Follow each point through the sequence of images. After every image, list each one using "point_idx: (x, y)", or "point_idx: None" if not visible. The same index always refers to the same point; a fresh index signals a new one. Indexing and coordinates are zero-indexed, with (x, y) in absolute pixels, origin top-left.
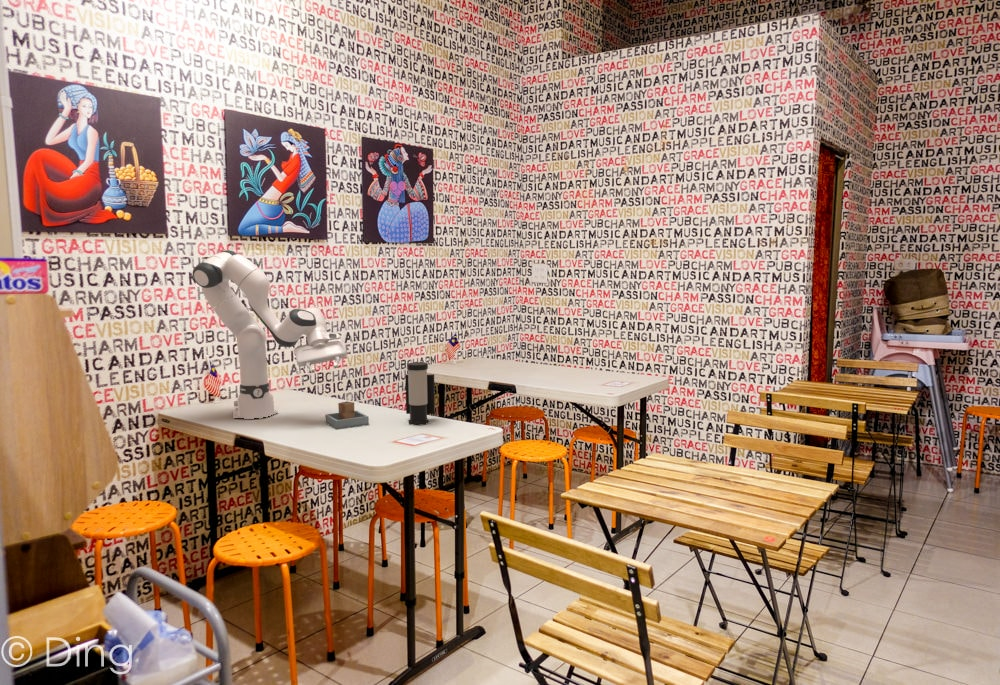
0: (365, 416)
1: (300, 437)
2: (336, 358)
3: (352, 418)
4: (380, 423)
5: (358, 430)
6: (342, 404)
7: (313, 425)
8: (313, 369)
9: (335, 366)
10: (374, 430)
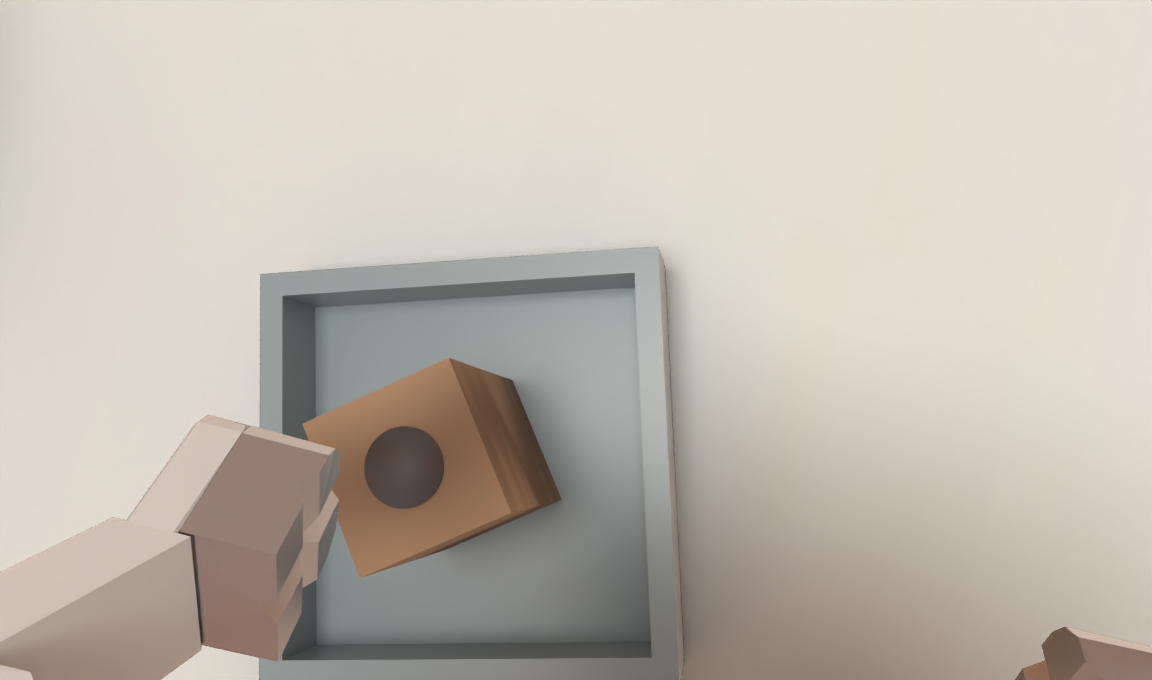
0: (288, 292)
1: (1118, 106)
2: (8, 669)
3: (450, 268)
4: (180, 294)
5: (475, 111)
6: (477, 425)
7: (849, 604)
8: (1106, 657)
9: (303, 445)
10: (340, 36)
